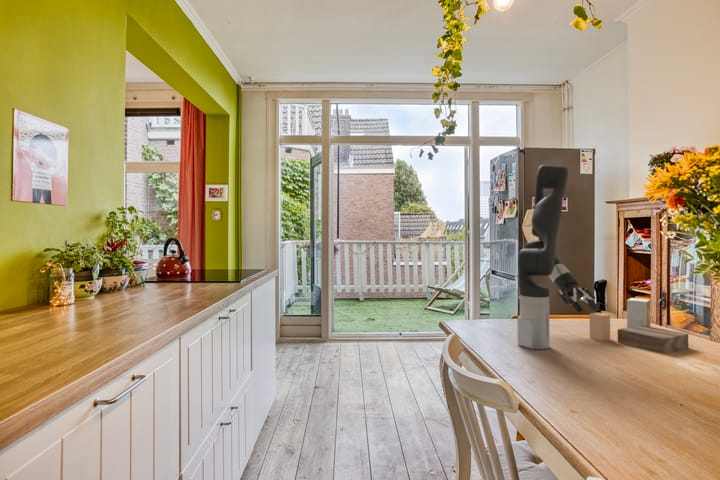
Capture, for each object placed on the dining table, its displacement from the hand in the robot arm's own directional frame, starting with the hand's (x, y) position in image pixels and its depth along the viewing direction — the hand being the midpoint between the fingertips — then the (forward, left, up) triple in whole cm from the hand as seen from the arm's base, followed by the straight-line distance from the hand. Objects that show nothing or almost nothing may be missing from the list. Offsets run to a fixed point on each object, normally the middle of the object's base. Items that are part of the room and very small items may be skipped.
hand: (589, 310), depth 137 cm
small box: (+21, -5, -10) cm, 24 cm away
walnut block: (+8, -16, -10) cm, 21 cm away
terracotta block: (0, -4, -9) cm, 10 cm away
